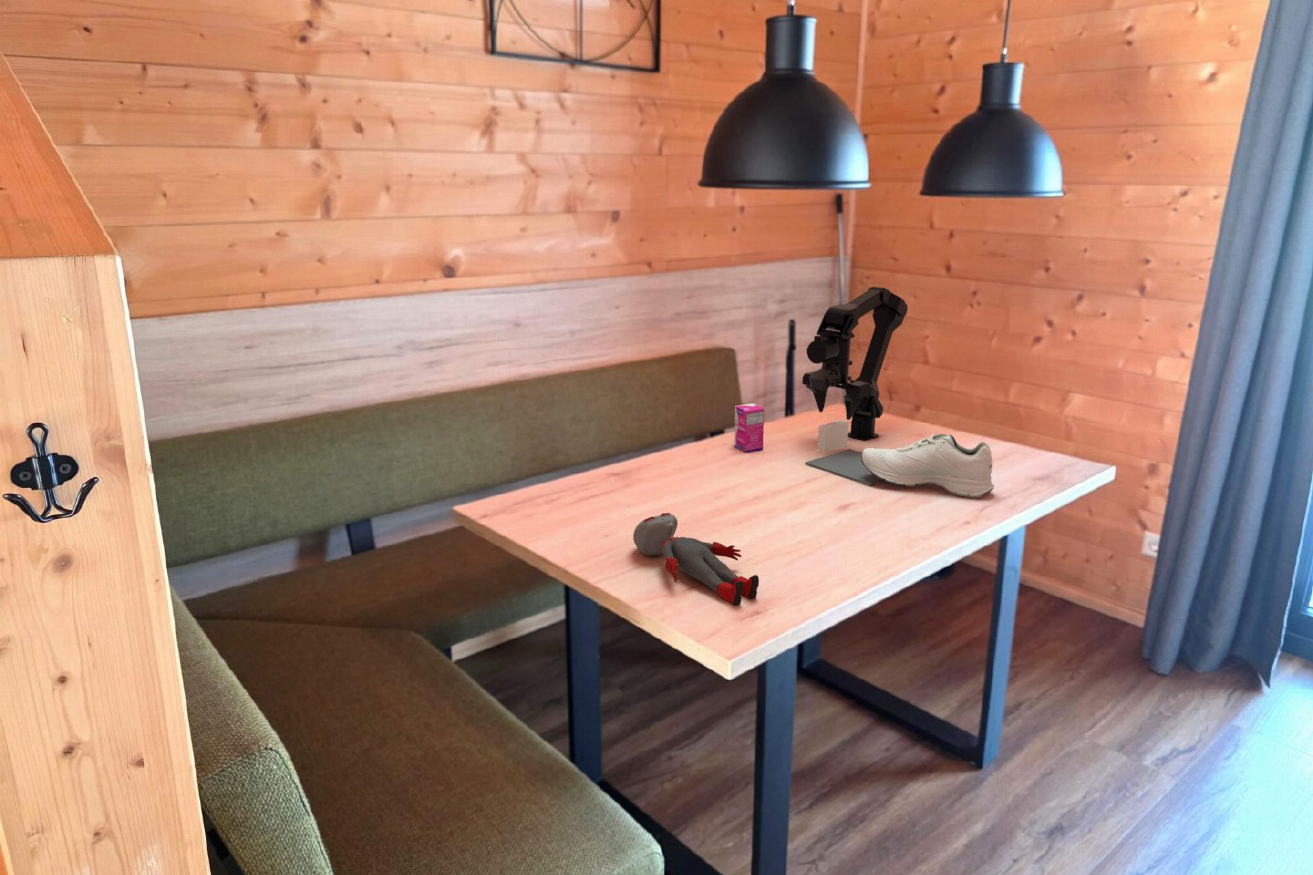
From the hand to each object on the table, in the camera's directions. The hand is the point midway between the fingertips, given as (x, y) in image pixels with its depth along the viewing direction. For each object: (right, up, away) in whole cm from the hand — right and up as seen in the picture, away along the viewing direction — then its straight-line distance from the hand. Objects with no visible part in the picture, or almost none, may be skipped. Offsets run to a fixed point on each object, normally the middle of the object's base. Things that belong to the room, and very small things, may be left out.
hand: (834, 415), depth 238 cm
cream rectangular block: (0, -9, +3) cm, 9 cm away
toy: (-40, -31, -68) cm, 84 cm away
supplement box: (-22, -9, +3) cm, 24 cm away
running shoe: (+16, -17, -24) cm, 34 cm away
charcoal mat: (+4, -13, -12) cm, 18 cm away
